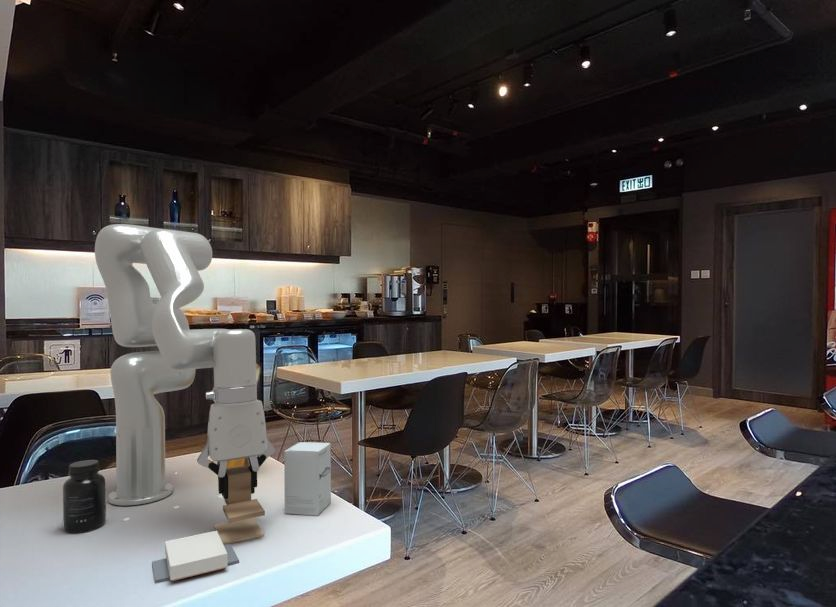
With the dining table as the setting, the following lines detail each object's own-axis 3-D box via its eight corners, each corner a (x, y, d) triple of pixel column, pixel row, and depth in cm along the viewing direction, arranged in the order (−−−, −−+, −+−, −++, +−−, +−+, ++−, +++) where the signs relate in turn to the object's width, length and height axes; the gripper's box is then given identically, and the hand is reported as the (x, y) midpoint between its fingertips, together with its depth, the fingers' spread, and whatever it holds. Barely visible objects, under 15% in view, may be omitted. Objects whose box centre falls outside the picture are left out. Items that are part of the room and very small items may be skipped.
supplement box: (318, 516, 102) (317, 451, 102) (283, 514, 104) (282, 450, 104) (332, 502, 109) (331, 442, 110) (299, 500, 111) (298, 441, 111)
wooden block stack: (219, 502, 98) (218, 470, 98) (251, 495, 101) (251, 464, 101) (229, 522, 89) (228, 488, 89) (264, 515, 92) (264, 481, 92)
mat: (152, 564, 83) (152, 561, 83) (230, 546, 90) (230, 543, 90) (155, 583, 77) (155, 580, 77) (239, 562, 83) (239, 560, 83)
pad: (214, 526, 98) (214, 525, 98) (252, 518, 101) (252, 517, 101) (223, 544, 90) (223, 543, 90) (264, 535, 94) (264, 533, 94)
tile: (165, 541, 86) (170, 566, 77) (216, 530, 90) (227, 553, 81) (165, 555, 85) (170, 582, 77) (216, 544, 89) (227, 568, 81)
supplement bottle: (67, 523, 101) (67, 460, 101) (108, 517, 103) (108, 456, 104) (59, 537, 94) (58, 470, 95) (102, 530, 97) (102, 465, 97)
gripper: (189, 402, 90) (192, 510, 90) (285, 393, 99) (288, 490, 98) (184, 397, 97) (186, 497, 96) (275, 389, 105) (277, 481, 105)
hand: (238, 493), depth 97 cm, fingers closed on wooden block stack, 4 cm apart
